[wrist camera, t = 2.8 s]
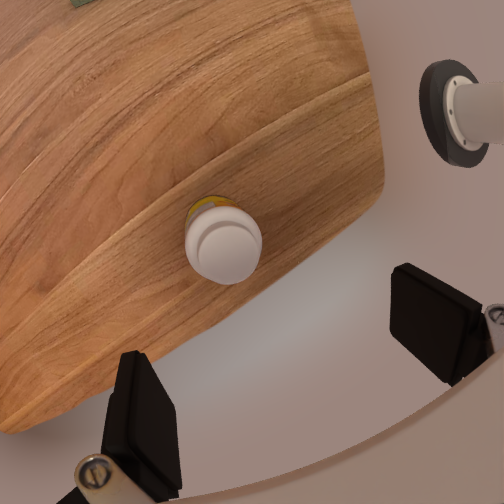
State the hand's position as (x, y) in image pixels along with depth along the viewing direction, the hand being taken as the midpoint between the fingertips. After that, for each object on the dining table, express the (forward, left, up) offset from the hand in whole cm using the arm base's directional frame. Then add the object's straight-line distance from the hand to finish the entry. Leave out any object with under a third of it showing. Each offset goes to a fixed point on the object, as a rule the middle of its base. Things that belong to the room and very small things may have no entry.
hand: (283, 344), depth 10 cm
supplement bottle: (0, 0, -20) cm, 20 cm away
